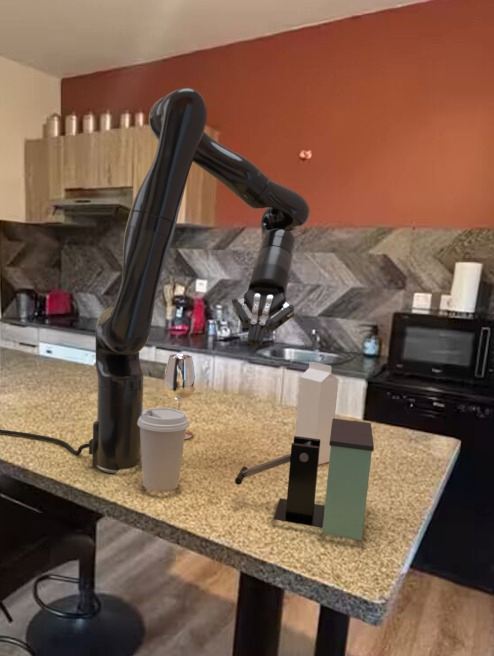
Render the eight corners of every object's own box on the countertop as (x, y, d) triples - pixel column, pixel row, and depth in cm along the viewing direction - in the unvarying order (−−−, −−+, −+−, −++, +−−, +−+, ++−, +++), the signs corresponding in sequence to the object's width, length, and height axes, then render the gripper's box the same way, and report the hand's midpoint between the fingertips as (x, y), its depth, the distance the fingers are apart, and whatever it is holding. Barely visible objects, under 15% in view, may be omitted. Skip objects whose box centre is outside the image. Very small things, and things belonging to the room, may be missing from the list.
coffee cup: (134, 479, 108) (137, 405, 106) (183, 480, 109) (186, 406, 107) (135, 500, 99) (138, 420, 96) (188, 500, 100) (192, 421, 97)
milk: (313, 466, 120) (322, 367, 116) (292, 458, 125) (300, 362, 121) (331, 461, 124) (340, 364, 120) (309, 453, 128) (318, 360, 124)
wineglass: (196, 433, 140) (200, 355, 136) (187, 442, 132) (191, 360, 129) (167, 428, 142) (170, 352, 139) (156, 437, 135) (159, 356, 131)
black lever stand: (272, 525, 92) (278, 446, 89) (279, 504, 100) (285, 431, 98) (322, 534, 90) (330, 453, 87) (324, 511, 98) (331, 437, 96)
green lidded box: (320, 540, 88) (329, 440, 85) (324, 506, 100) (332, 418, 97) (362, 548, 86) (373, 446, 83) (361, 512, 98) (370, 422, 95)
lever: (238, 489, 94) (232, 476, 94) (244, 476, 100) (238, 464, 100) (315, 461, 90) (308, 448, 89) (317, 450, 95) (311, 437, 95)
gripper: (237, 259, 112) (217, 329, 104) (303, 264, 108) (288, 338, 100) (241, 282, 118) (222, 350, 110) (303, 288, 114) (289, 359, 106)
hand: (254, 344), depth 105 cm, fingers closed
